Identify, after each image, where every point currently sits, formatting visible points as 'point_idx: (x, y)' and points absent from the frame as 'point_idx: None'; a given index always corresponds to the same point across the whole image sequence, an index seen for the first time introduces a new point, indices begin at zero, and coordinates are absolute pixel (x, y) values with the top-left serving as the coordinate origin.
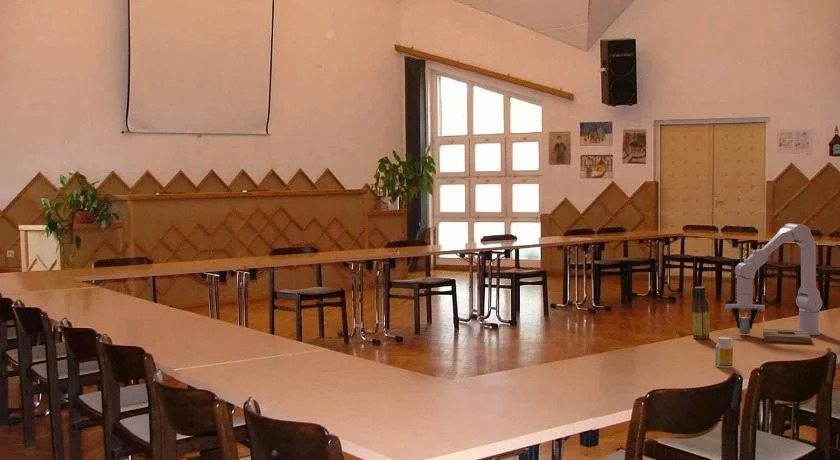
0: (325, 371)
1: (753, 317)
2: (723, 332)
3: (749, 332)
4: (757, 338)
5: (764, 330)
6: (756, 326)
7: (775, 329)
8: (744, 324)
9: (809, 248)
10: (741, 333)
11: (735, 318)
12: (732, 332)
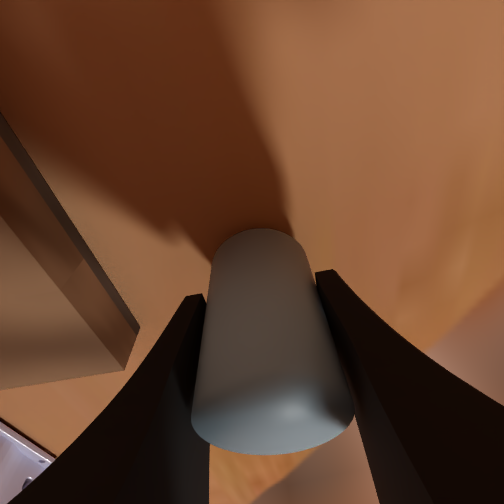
0: None
1: (104, 426)
2: (427, 303)
3: (211, 270)
4: (99, 158)
5: (61, 303)
6: (256, 469)
7: (23, 374)
8: (255, 298)
9: None
10: (281, 233)
11: (421, 353)
12: None
